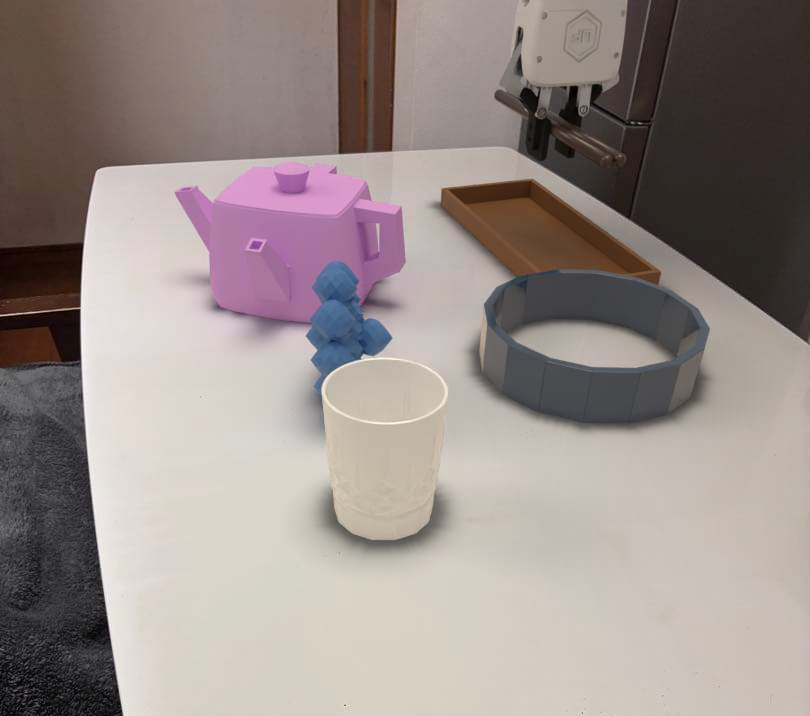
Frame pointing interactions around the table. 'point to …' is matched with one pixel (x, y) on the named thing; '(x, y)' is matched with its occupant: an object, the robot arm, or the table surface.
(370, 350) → the grapes
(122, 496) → the table surface
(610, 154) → the chopsticks
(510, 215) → the tray
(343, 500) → the white cup
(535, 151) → the robot arm
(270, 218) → the teakettle
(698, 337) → the ring
